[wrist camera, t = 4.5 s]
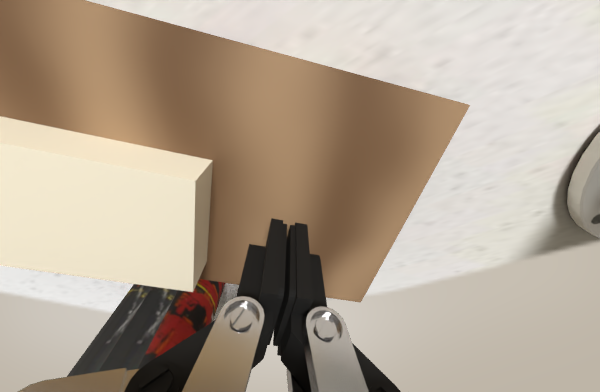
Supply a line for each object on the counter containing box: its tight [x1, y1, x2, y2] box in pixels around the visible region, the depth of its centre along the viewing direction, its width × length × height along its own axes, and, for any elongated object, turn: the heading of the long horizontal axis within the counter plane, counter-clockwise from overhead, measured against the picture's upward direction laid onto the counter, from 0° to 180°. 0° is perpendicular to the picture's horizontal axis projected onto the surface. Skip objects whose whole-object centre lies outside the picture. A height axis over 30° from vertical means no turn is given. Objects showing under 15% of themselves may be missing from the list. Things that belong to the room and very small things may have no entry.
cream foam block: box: [0, 116, 213, 292], centre depth 10 cm, size 9×6×2 cm, turn 77°
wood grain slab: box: [0, 0, 470, 302], centre depth 13 cm, size 20×12×4 cm, turn 77°
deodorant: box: [67, 279, 225, 377], centre depth 13 cm, size 6×6×15 cm
